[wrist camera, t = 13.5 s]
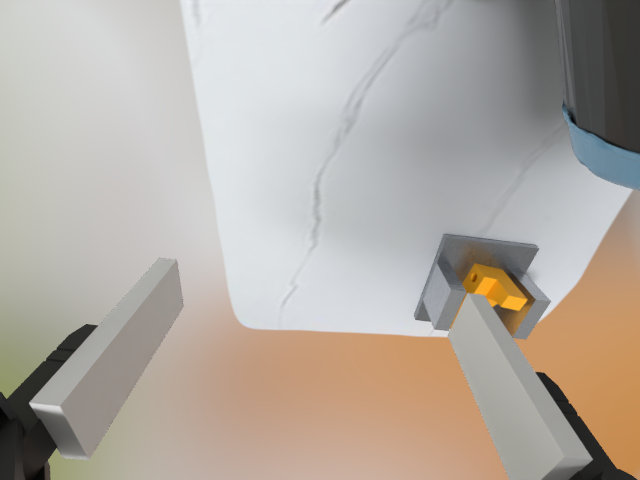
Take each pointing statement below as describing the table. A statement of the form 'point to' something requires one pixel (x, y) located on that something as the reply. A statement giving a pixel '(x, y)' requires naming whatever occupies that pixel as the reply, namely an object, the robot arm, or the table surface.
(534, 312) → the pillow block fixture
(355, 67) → the table surface
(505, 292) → the orange angled block
